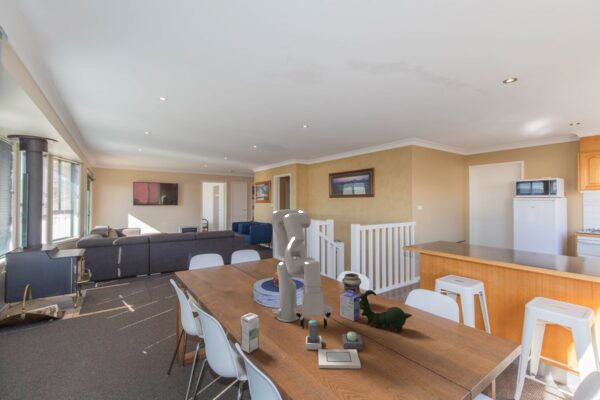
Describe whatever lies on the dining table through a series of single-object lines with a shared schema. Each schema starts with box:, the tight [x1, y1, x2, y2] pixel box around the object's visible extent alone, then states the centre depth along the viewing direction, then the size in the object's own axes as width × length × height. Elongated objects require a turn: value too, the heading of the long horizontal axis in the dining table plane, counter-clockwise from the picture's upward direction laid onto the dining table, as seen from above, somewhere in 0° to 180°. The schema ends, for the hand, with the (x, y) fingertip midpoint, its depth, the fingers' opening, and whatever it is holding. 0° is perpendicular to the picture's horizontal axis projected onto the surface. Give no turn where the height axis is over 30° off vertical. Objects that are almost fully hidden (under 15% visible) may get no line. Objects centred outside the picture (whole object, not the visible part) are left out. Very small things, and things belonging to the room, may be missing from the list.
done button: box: [346, 331, 357, 341], centre depth 120 cm, size 4×4×4 cm
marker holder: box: [305, 335, 323, 350], centre depth 121 cm, size 7×7×2 cm
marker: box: [308, 319, 319, 343], centre depth 121 cm, size 4×4×10 cm
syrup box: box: [240, 312, 260, 354], centre depth 119 cm, size 6×6×14 cm
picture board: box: [317, 348, 362, 369], centre depth 109 cm, size 16×11×1 cm
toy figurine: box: [359, 289, 413, 333], centre depth 136 cm, size 9×19×25 cm
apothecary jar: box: [341, 272, 363, 300], centre depth 169 cm, size 12×12×18 cm
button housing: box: [341, 333, 364, 351], centre depth 120 cm, size 8×8×3 cm
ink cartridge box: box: [339, 290, 361, 322], centre depth 149 cm, size 10×6×14 cm, turn 41°
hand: (314, 327), depth 120 cm, fingers open, 9 cm apart
